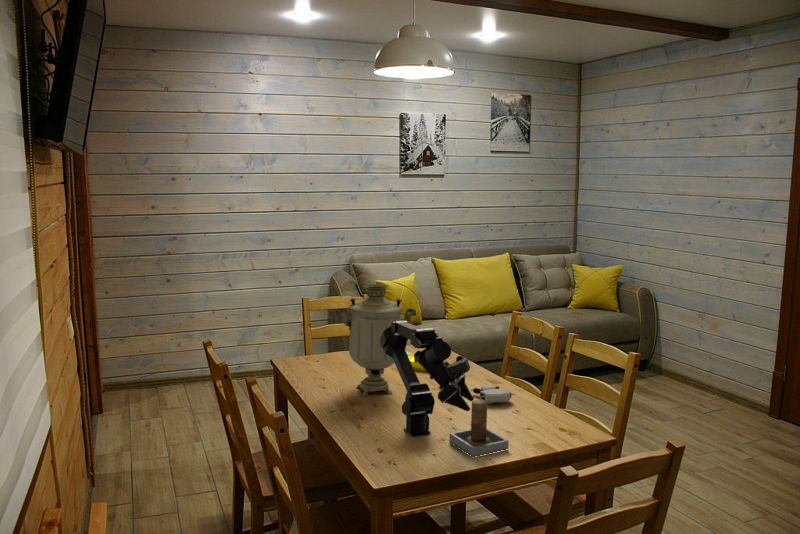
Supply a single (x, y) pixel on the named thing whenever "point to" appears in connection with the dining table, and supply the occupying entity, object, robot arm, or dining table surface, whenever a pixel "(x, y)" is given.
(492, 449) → the box
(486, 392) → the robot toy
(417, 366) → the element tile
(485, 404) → the handle
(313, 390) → the dining table surface
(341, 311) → the samovar
